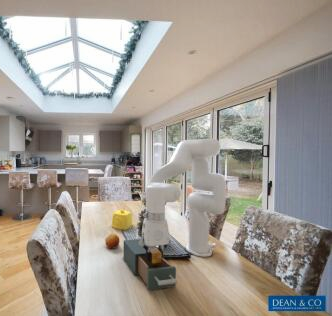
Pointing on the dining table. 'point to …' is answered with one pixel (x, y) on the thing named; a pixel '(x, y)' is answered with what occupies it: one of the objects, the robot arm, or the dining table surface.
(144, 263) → the drawer
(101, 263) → the dining table surface
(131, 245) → the cabinet
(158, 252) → the block
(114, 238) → the fruit
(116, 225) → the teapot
